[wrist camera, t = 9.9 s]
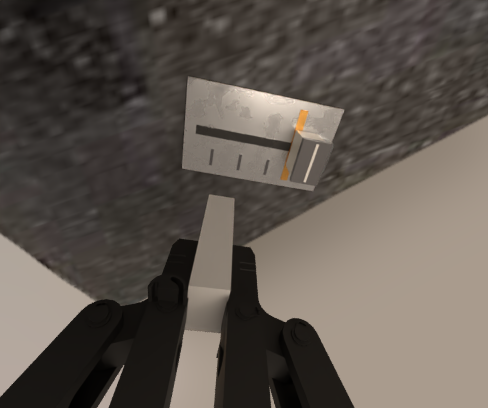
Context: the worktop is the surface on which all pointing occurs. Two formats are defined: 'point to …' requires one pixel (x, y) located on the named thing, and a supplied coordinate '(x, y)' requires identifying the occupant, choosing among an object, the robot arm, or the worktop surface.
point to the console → (249, 131)
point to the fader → (307, 157)
